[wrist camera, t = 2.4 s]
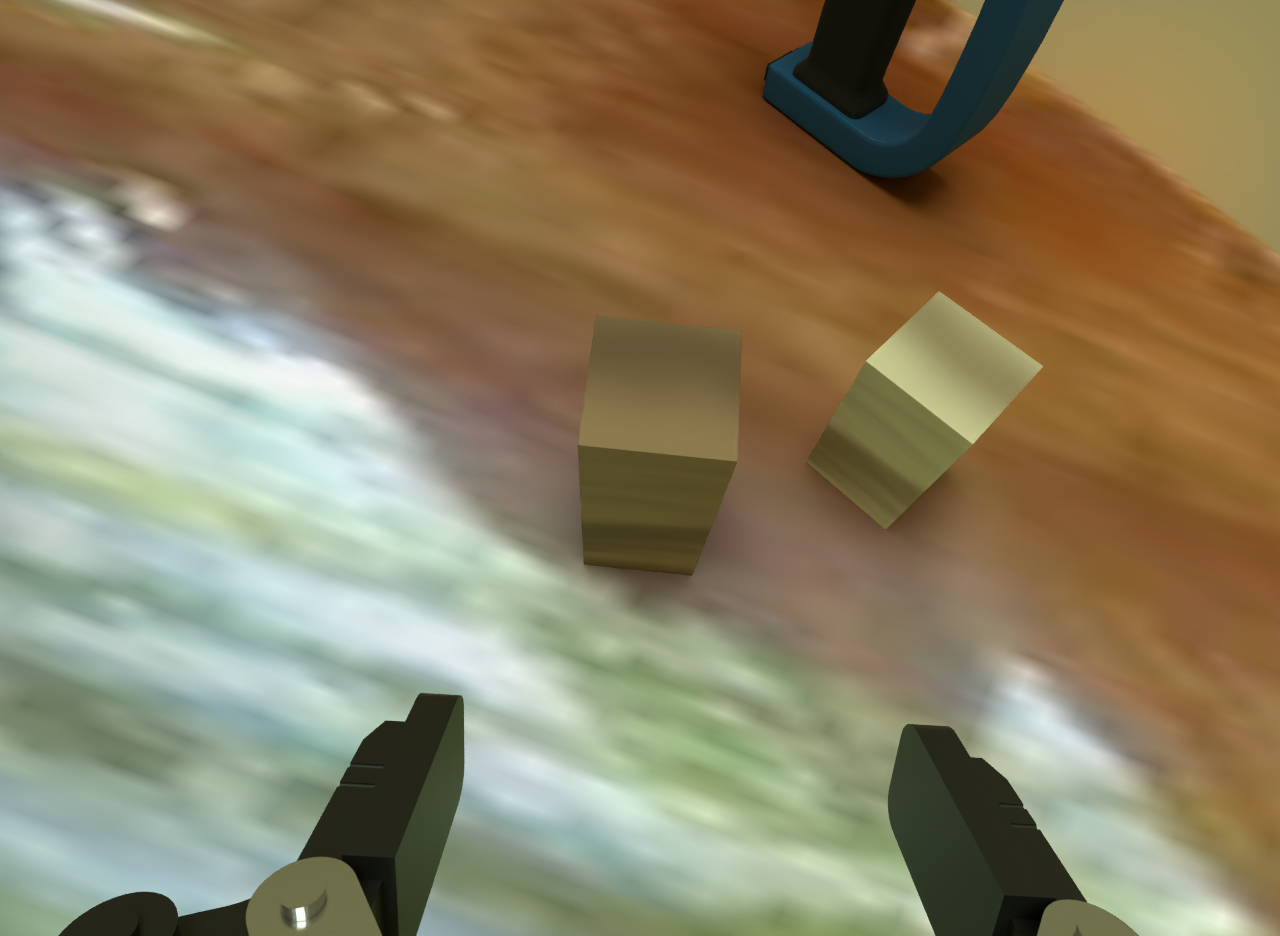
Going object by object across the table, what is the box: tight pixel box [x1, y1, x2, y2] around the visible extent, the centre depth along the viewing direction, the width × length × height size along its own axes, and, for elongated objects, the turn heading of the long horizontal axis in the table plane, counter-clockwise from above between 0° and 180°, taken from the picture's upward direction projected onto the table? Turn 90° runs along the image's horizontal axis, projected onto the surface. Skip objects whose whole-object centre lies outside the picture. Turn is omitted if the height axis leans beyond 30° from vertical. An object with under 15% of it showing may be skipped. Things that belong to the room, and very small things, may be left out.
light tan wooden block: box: [578, 315, 742, 575], centre depth 29 cm, size 5×5×12 cm
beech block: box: [806, 292, 1043, 530], centre depth 32 cm, size 5×5×9 cm
